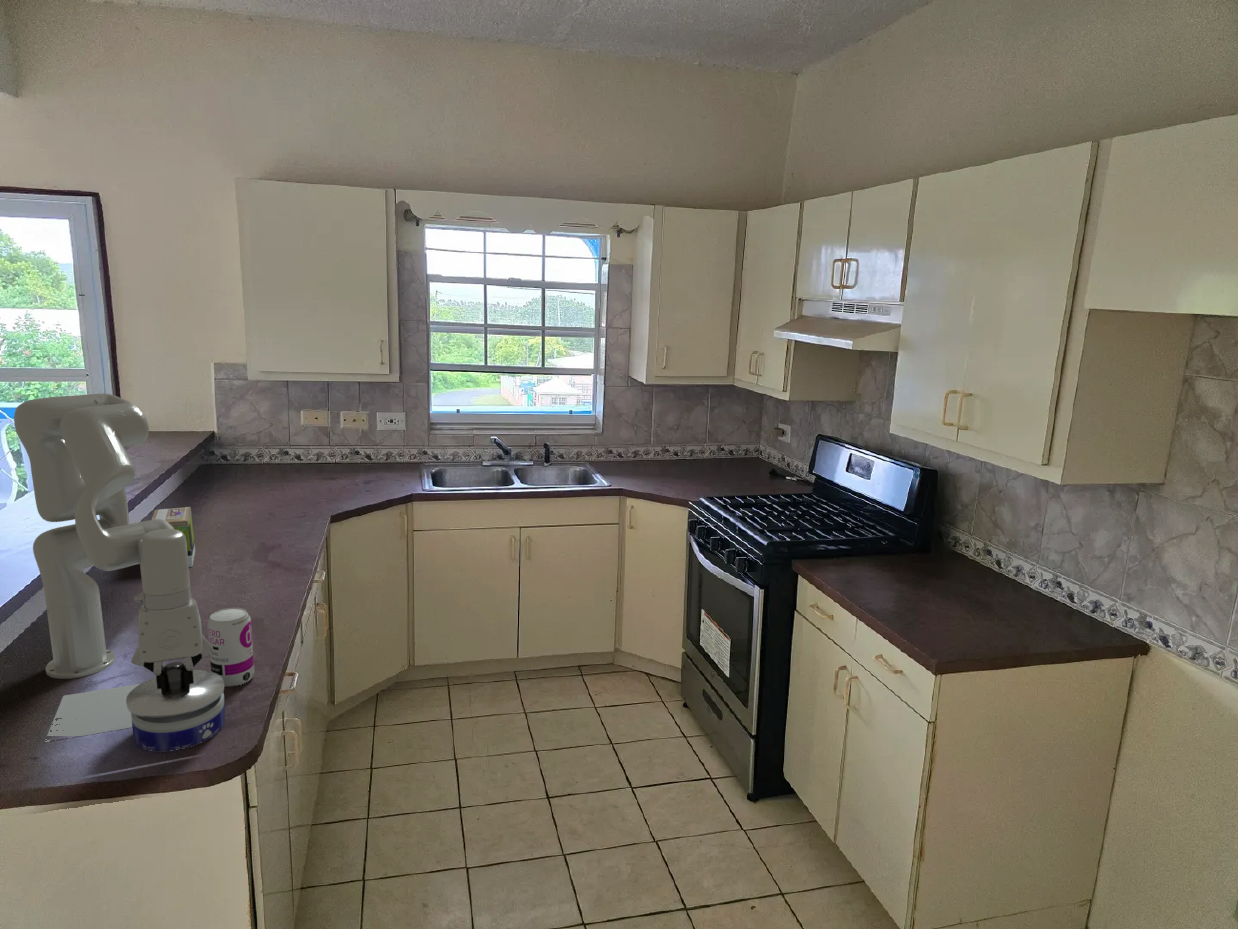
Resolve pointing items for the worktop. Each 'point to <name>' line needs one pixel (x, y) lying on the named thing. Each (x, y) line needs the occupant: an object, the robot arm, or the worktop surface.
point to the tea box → (180, 526)
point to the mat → (92, 713)
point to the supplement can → (231, 645)
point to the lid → (175, 693)
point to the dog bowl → (179, 728)
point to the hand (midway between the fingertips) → (176, 688)
